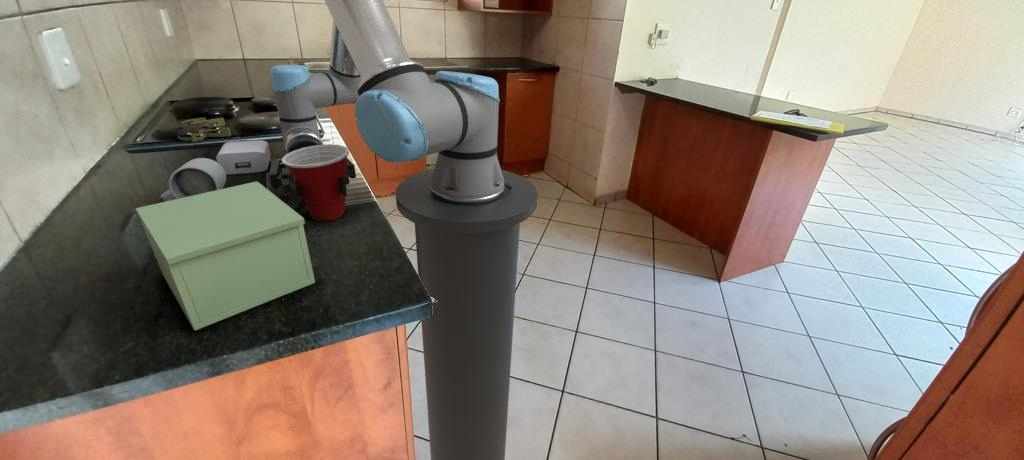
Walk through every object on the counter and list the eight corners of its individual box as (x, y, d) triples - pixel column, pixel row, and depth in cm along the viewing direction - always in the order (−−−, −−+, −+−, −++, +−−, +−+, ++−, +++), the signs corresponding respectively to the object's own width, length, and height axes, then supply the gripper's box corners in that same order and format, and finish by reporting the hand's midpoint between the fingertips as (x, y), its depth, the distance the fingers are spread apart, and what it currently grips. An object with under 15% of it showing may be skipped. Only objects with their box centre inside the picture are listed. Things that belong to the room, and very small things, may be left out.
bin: (315, 282, 60) (302, 221, 56) (194, 331, 51) (166, 262, 46) (272, 241, 69) (258, 186, 65) (163, 276, 60) (137, 214, 55)
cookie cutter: (232, 137, 116) (230, 130, 115) (178, 143, 110) (176, 136, 109) (225, 122, 129) (223, 115, 128) (176, 127, 122) (174, 120, 121)
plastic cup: (297, 205, 82) (284, 144, 76) (356, 199, 85) (348, 141, 79) (291, 231, 73) (276, 164, 67) (358, 224, 76) (349, 160, 70)
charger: (273, 151, 108) (268, 171, 96) (231, 154, 105) (221, 175, 93) (269, 132, 106) (263, 151, 94) (226, 135, 103) (214, 154, 91)
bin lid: (305, 223, 55) (304, 218, 55) (168, 265, 46) (166, 258, 45) (258, 186, 65) (257, 181, 64) (137, 213, 55) (135, 208, 55)
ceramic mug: (232, 188, 87) (221, 151, 83) (223, 204, 80) (211, 165, 77) (171, 193, 84) (157, 156, 80) (156, 211, 77) (140, 171, 73)
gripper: (357, 162, 96) (381, 202, 78) (256, 174, 87) (257, 221, 69) (353, 129, 92) (377, 163, 74) (247, 138, 83) (246, 178, 66)
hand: (319, 191), depth 72 cm, fingers open, 7 cm apart
